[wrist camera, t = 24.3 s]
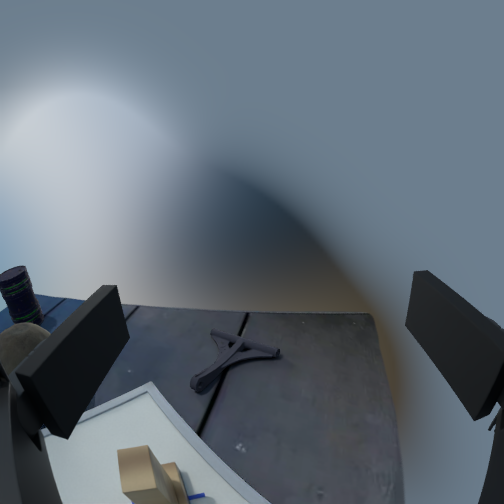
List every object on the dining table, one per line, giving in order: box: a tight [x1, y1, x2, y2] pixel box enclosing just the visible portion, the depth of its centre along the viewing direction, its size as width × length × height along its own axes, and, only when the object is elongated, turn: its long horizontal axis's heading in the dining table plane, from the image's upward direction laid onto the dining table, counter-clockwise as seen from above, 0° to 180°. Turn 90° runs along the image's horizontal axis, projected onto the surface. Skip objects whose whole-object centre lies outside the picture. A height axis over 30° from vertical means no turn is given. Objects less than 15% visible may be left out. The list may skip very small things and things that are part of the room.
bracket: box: [190, 328, 280, 392], centre depth 48 cm, size 14×15×3 cm
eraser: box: [117, 445, 191, 504], centre depth 21 cm, size 10×5×10 cm, turn 21°
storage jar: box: [0, 266, 44, 326], centre depth 61 cm, size 10×10×15 cm
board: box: [41, 382, 271, 504], centre depth 23 cm, size 30×32×2 cm
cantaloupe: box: [0, 322, 51, 376], centre depth 37 cm, size 14×14×15 cm
